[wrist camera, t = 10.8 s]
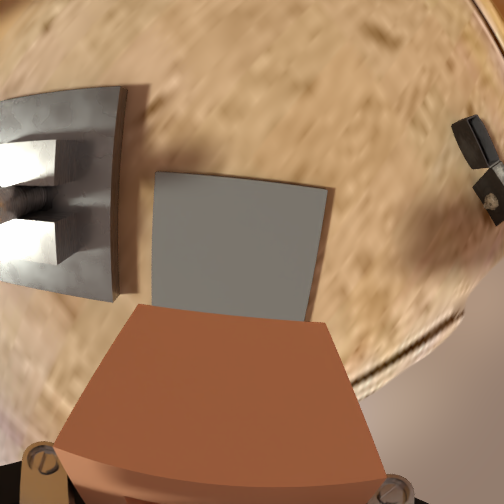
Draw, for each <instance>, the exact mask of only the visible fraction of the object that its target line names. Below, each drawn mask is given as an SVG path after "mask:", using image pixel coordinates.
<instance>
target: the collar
mask: <svg viewBox="0 0 504 504" xmlns="http://www.w3.org/2000/svg"><path fill="white" fill-rule="evenodd" d="M53 448H54V450H55V452H56V454H57V456H58V458H59V460H60V462H61V464H62V466H63V467H64V469H65V471H66V473H67V474H68V476H69V478H70V480H71V481H72V483H73V485H74V486H75V488H76V490H77V491H78V493H79V494H80V496H81V498H82V499H83V501H84V502H85V504H366V503H367V502H368V501H369V500H370V499H371V497H372V496H373V495H374V494H375V493H376V491H377V490H378V489H379V488H380V486H381V485H382V484H383V482H384V481H385V480H386V479H387V476H386V473H385V470H384V468H383V465H382V462H381V459H380V457H379V454H378V452H377V449H376V447H375V444H374V441H373V439H372V436H371V433H370V431H369V428H368V426H367V423H366V421H365V418H364V415H363V413H362V410H361V408H360V405H359V403H358V400H357V398H356V395H355V393H354V391H353V388H352V386H351V383H350V381H349V378H348V376H347V373H346V371H345V369H344V366H343V364H342V361H341V359H340V357H339V354H338V352H337V350H336V347H335V345H334V342H333V340H332V338H331V335H330V333H329V331H328V328H327V326H326V324H325V323H321V322H305V321H291V320H278V319H265V318H254V317H243V316H233V315H224V314H214V313H205V312H197V311H189V310H180V309H173V308H165V307H158V306H151V305H144V304H138V306H137V307H136V309H135V310H134V312H133V313H132V315H131V316H130V318H129V319H128V321H127V322H126V324H125V325H124V327H123V328H122V330H121V332H120V333H119V335H118V336H117V338H116V339H115V341H114V342H113V344H112V346H111V347H110V349H109V350H108V352H107V354H106V355H105V357H104V358H103V360H102V362H101V363H100V365H99V367H98V368H97V370H96V371H95V373H94V375H93V376H92V378H91V380H90V381H89V383H88V385H87V386H86V388H85V390H84V392H83V393H82V395H81V397H80V398H79V400H78V402H77V403H76V405H75V407H74V409H73V410H72V412H71V414H70V416H69V417H68V419H67V421H66V423H65V425H64V426H63V428H62V430H61V432H60V434H59V435H58V437H57V439H56V441H55V443H54V445H53Z"/></svg>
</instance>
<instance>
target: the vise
mask: <svg viewBox="0 0 504 504" xmlns="http://www.w3.org/2000/svg"><path fill="white" fill-rule="evenodd" d="M127 91H128V90H127V89H125V88H123V87H121V86H116V87H100V88H87V89H76V90H67V91H58V92H51V93H44V94H37V95H31V96H25V97H19V98H14V99H9V100H4V101H0V281H4V282H8V283H12V284H17V285H22V286H26V287H31V288H36V289H41V290H46V291H51V292H56V293H61V294H66V295H72V296H77V297H83V298H88V299H94V300H100V301H106V302H112V303H113V302H114V301H115V300H116V298H117V297H118V296H119V274H118V192H119V172H120V157H121V144H122V133H123V124H124V115H125V106H126V99H127Z"/></svg>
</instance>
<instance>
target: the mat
mask: <svg viewBox="0 0 504 504" xmlns="http://www.w3.org/2000/svg"><path fill="white" fill-rule="evenodd" d="M327 191H328V190H326V189H321V188H315V187H308V186H300V185H293V184H285V183H277V182H269V181H261V180H252V179H243V178H233V177H223V176H212V175H200V174H188V173H174V172H159V171H158V172H156V173H155V187H154V205H153V228H152V306H158V307H165V308H173V309H180V310H189V311H197V312H205V313H214V314H224V315H233V316H243V317H254V318H265V319H278V320H291V321H304V319H305V314H306V309H307V304H308V300H309V295H310V289H311V284H312V279H313V274H314V269H315V263H316V258H317V252H318V247H319V241H320V235H321V229H322V223H323V217H324V211H325V205H326V198H327Z"/></svg>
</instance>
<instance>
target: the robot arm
mask: <svg viewBox="0 0 504 504" xmlns="http://www.w3.org/2000/svg"><path fill="white" fill-rule="evenodd" d="M53 445H54V443H52V442H47V441H41V442H36V443H33V444H31V445H30V446H29V447H27V449H26V450H25V451H24V454H23V457H22V461H19V462H16V463H12V464H8V465H4V466H0V504H85V502H84V501H83V499H82V498H81V496H80V494H79V493H78V491H77V490H76V488H75V486H74V485H73V483H72V481H71V480H70V478H69V476H68V474H67V473H66V471H65V469H64V467H63V466H62V464H61V462H60V460H59V458H58V456H57V454H56V452H55V450H54V448H53ZM386 476H387V479H386V480H385V481H384V482H383V484H382V485H381V486H380V488H379V489H378V490H377V491H376V493H375V494H374V495H373V496H372V497H371V499H370V500H369V501H368V502H367V503H366V504H428V503H426V502H424V501H422V500H419V499H417V498H415V497H414V488H413V486H412V484H411V483H410V482H409V481H408V480H407V479H406V478H404V477H402V476H400V475H395V474H386Z"/></svg>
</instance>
